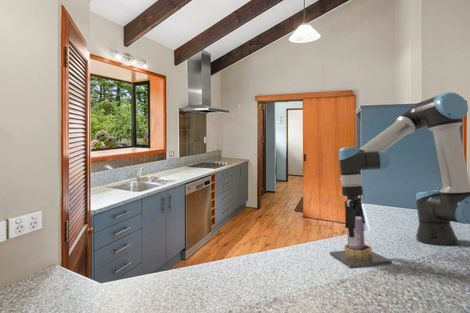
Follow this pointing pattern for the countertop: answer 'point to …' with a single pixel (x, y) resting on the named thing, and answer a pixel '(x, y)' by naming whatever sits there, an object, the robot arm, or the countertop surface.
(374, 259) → the pipe socket
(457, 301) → the countertop surface
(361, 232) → the beverage can
